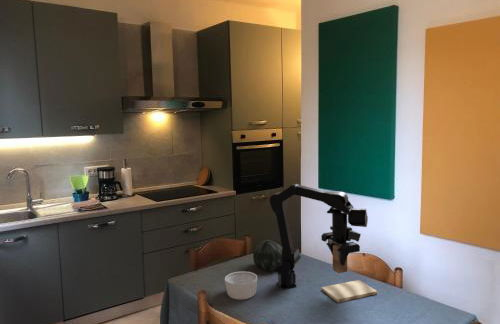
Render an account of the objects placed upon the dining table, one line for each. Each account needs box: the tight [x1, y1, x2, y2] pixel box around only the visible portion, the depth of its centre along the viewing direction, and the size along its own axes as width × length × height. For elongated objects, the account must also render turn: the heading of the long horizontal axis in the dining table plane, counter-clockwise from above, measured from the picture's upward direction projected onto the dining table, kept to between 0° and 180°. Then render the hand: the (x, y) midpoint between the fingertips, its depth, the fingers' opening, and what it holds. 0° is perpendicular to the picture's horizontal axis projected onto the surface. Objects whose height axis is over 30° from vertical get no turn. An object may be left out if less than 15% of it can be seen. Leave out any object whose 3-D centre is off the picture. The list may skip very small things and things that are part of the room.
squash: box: [252, 239, 282, 272], centre depth 189 cm, size 14×15×15 cm
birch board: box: [321, 279, 378, 303], centre depth 161 cm, size 18×12×1 cm, turn 110°
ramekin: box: [224, 271, 258, 301], centre depth 162 cm, size 13×13×7 cm
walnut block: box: [332, 244, 348, 274], centre depth 158 cm, size 4×4×10 cm
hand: (339, 263), depth 159 cm, fingers closed on walnut block, 4 cm apart
